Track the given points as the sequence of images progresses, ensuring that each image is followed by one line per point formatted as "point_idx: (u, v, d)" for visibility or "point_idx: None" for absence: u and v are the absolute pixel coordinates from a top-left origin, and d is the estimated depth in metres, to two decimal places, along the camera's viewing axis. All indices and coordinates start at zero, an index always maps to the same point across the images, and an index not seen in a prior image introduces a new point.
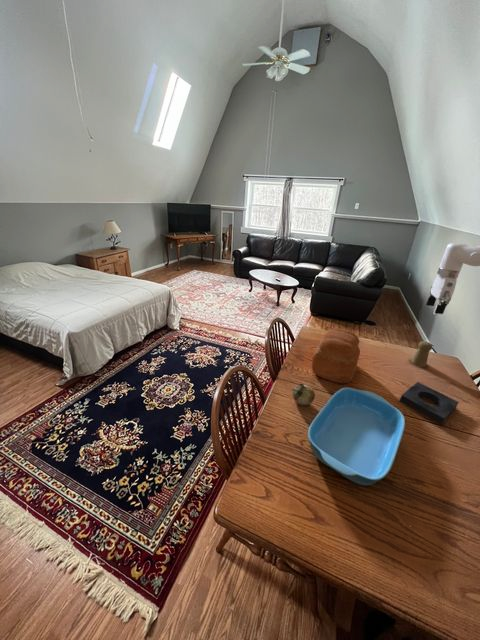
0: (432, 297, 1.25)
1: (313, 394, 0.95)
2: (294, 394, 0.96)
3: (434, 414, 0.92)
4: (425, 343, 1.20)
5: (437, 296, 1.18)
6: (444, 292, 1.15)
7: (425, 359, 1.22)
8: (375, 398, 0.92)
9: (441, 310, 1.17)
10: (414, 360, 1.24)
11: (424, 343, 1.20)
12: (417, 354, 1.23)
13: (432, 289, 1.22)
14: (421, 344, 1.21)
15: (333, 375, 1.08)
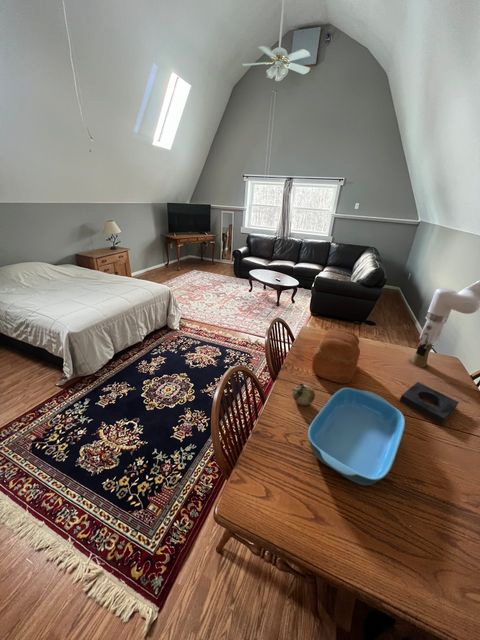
0: None
1: (313, 394, 0.95)
2: (294, 394, 0.96)
3: (434, 414, 0.92)
4: (425, 343, 1.20)
5: None
6: (423, 333, 1.16)
7: (425, 359, 1.22)
8: (375, 398, 0.92)
9: (420, 351, 1.20)
10: (414, 360, 1.24)
11: (424, 343, 1.20)
12: (417, 354, 1.23)
13: None
14: None
15: (333, 375, 1.08)
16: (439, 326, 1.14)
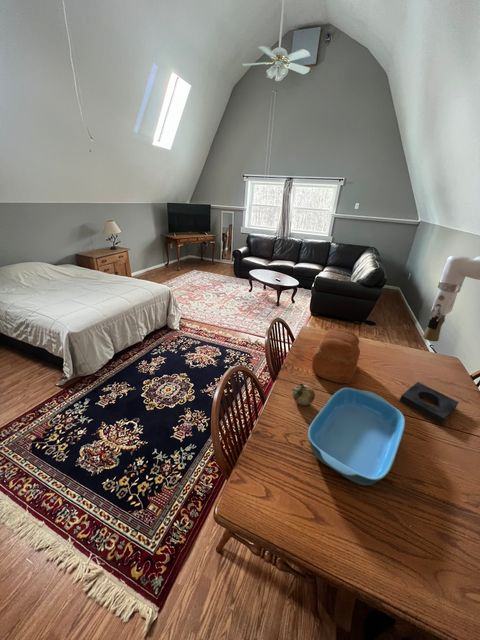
0: None
1: (313, 394, 0.95)
2: (294, 394, 0.96)
3: (434, 414, 0.92)
4: (437, 316, 1.14)
5: None
6: (435, 305, 1.10)
7: (437, 333, 1.15)
8: (375, 398, 0.92)
9: (432, 325, 1.14)
10: (425, 335, 1.18)
11: None
12: (429, 328, 1.17)
13: None
14: None
15: (333, 375, 1.08)
16: (452, 296, 1.07)
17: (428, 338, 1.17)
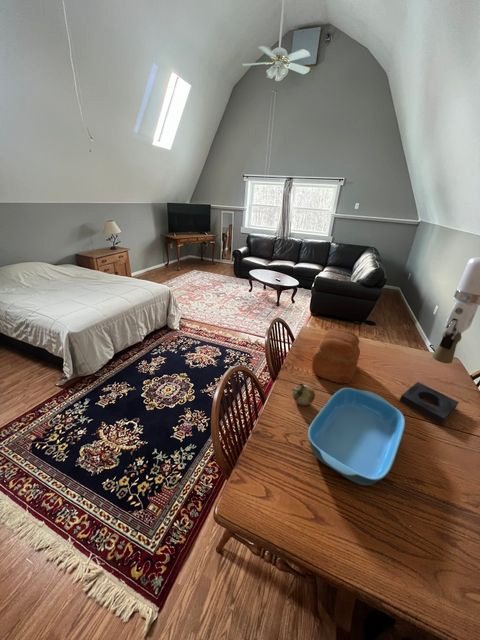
0: None
1: (313, 394, 0.95)
2: (294, 394, 0.96)
3: (434, 414, 0.92)
4: (452, 332, 0.91)
5: None
6: (451, 319, 0.87)
7: (451, 354, 0.93)
8: (375, 398, 0.92)
9: (446, 343, 0.91)
10: (436, 355, 0.96)
11: None
12: (441, 347, 0.94)
13: None
14: None
15: (333, 375, 1.08)
16: (473, 309, 0.85)
17: (440, 359, 0.95)
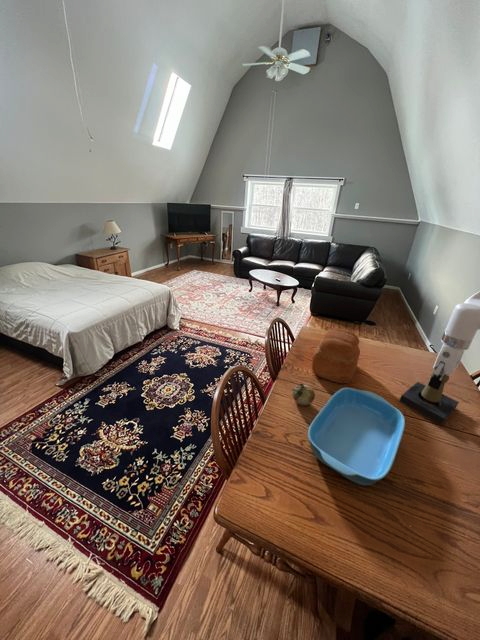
0: (442, 371, 0.96)
1: (313, 394, 0.95)
2: (294, 394, 0.96)
3: (434, 414, 0.92)
4: (440, 373, 0.93)
5: None
6: (438, 362, 0.89)
7: (440, 393, 0.95)
8: (375, 398, 0.92)
9: (434, 384, 0.93)
10: (425, 393, 0.97)
11: None
12: (429, 386, 0.96)
13: None
14: None
15: (333, 375, 1.08)
16: (460, 353, 0.86)
17: (428, 398, 0.96)
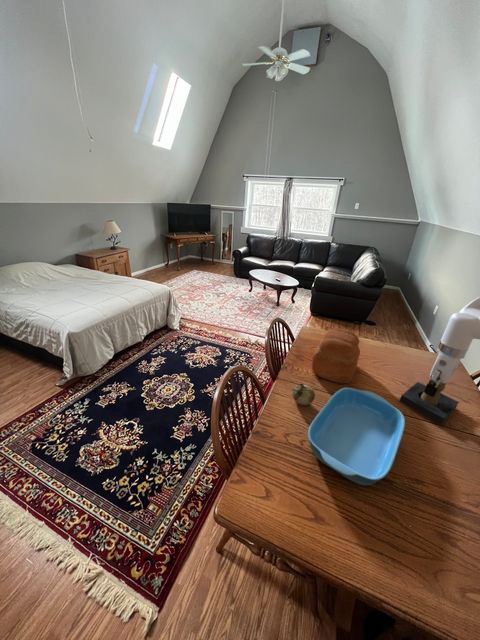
0: None
1: (313, 394, 0.95)
2: (294, 394, 0.96)
3: (434, 414, 0.92)
4: (436, 382, 0.95)
5: None
6: (435, 370, 0.91)
7: (436, 401, 0.96)
8: (375, 398, 0.92)
9: (430, 391, 0.93)
10: None
11: None
12: (425, 394, 0.98)
13: None
14: None
15: (333, 375, 1.08)
16: (456, 361, 0.88)
17: None
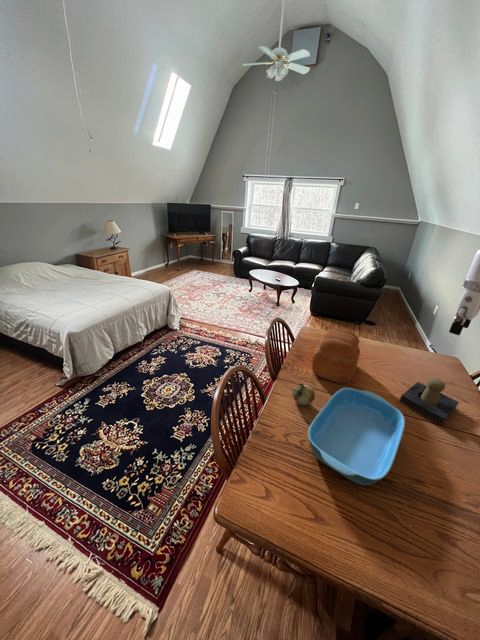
0: (465, 316, 1.00)
1: (313, 394, 0.95)
2: (294, 394, 0.96)
3: (434, 414, 0.92)
4: (436, 382, 0.95)
5: (456, 312, 0.96)
6: (461, 307, 0.93)
7: (436, 401, 0.96)
8: (375, 398, 0.92)
9: (455, 329, 0.95)
10: None
11: (435, 382, 0.95)
12: (425, 394, 0.98)
13: None
14: (430, 383, 0.95)
15: (333, 375, 1.08)
16: None
17: None
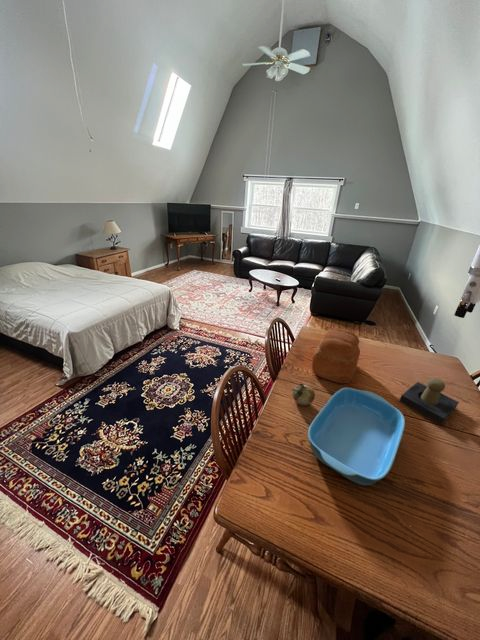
0: None
1: (313, 394, 0.95)
2: (294, 394, 0.96)
3: (434, 414, 0.92)
4: (436, 382, 0.95)
5: None
6: (465, 292, 1.01)
7: (436, 401, 0.96)
8: (375, 398, 0.92)
9: (460, 312, 1.04)
10: None
11: (435, 382, 0.95)
12: (425, 394, 0.98)
13: None
14: (430, 383, 0.95)
15: (333, 375, 1.08)
16: None
17: None
